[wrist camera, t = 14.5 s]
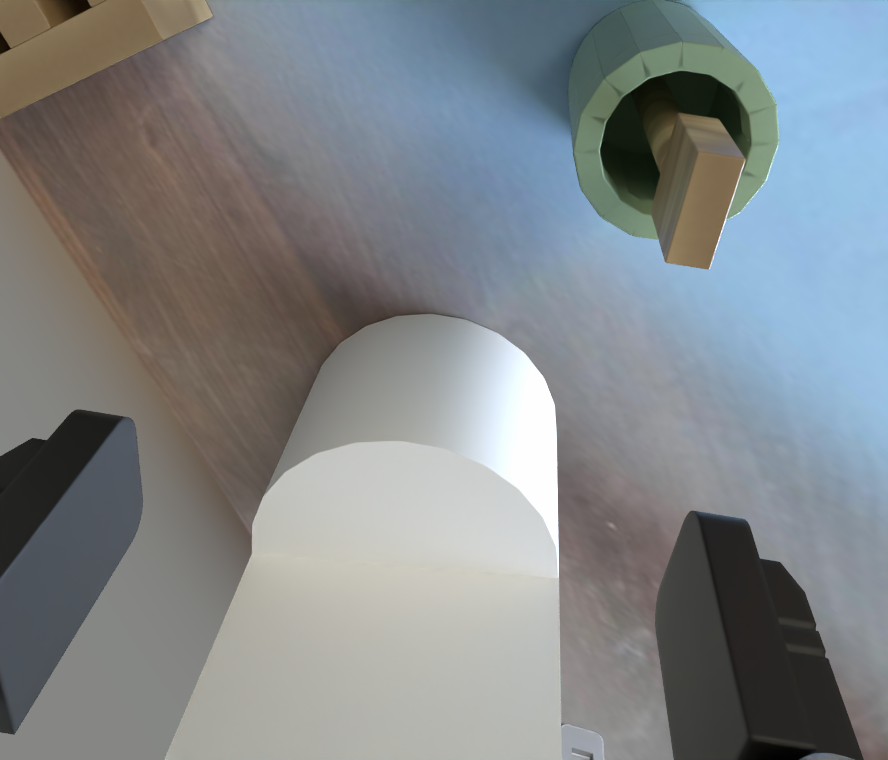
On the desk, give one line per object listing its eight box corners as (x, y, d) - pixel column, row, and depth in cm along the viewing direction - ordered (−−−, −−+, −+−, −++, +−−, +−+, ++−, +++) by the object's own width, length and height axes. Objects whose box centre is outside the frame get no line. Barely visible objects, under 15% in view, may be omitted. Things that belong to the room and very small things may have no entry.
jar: (628, -34, 42) (654, 0, 31) (758, 53, 43) (823, 112, 33) (539, 109, 46) (537, 180, 36) (661, 184, 47) (692, 272, 37)
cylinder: (547, 526, 62) (547, 938, 38) (319, 509, 63) (184, 895, 40) (566, 321, 52) (582, 697, 29) (299, 306, 54) (107, 653, 30)
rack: (-44, -30, 45) (-133, -13, 39) (138, -131, 42) (71, -131, 36) (38, 100, 49) (-32, 133, 43) (213, 16, 45) (163, 39, 39)
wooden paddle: (621, 120, 45) (661, 262, 29) (639, 42, 43) (694, 150, 27) (654, 125, 45) (712, 271, 29) (674, 48, 43) (749, 159, 27)
